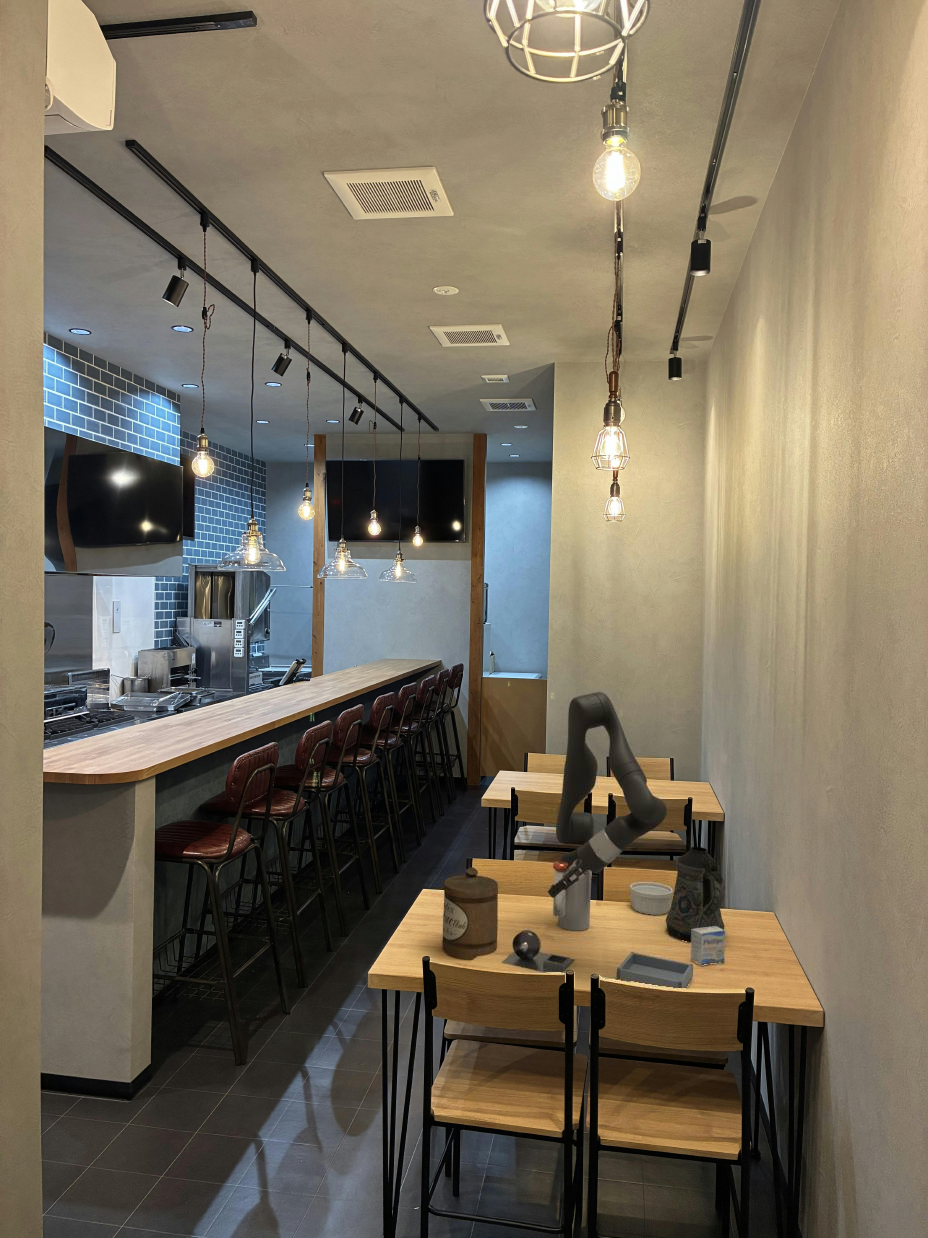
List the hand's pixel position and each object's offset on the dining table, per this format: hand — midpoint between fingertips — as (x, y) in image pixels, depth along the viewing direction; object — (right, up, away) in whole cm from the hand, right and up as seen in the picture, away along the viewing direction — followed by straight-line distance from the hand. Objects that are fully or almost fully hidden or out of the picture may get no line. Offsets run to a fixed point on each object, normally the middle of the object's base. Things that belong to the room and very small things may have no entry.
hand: (551, 892), depth 224 cm
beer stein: (+45, -21, +28) cm, 57 cm away
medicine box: (+42, -21, +8) cm, 48 cm away
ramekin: (+36, -21, +49) cm, 64 cm away
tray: (+25, -20, -6) cm, 33 cm away
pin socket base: (-3, -19, +2) cm, 20 cm away
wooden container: (-21, -19, +11) cm, 30 cm away
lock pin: (+2, -6, 0) cm, 6 cm away
